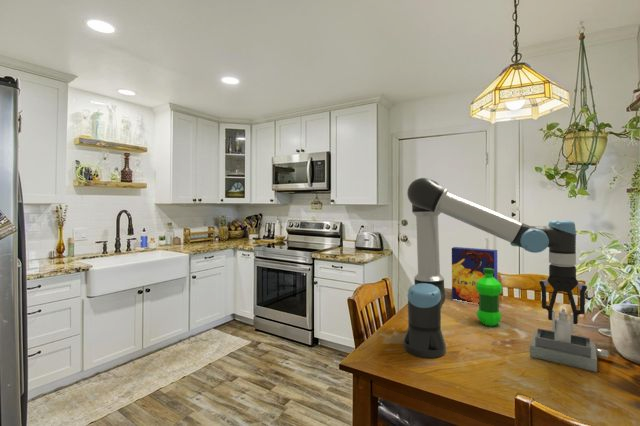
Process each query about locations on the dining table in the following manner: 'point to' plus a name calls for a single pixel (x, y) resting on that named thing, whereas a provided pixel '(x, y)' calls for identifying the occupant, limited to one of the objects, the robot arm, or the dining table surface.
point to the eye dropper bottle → (562, 328)
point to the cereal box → (470, 271)
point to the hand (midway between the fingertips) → (562, 330)
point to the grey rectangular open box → (566, 350)
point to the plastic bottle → (489, 298)
